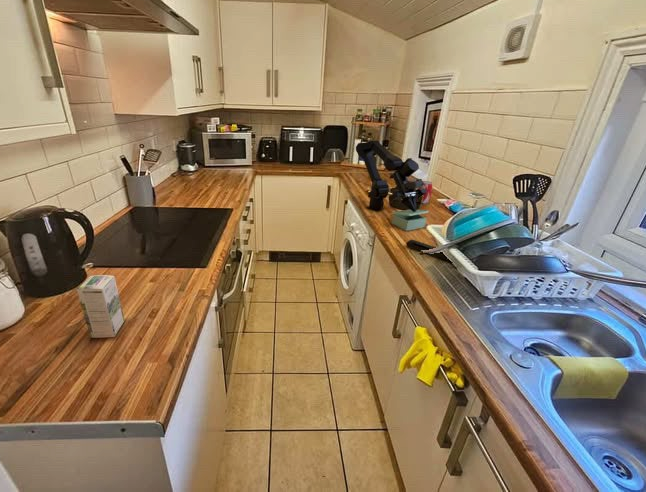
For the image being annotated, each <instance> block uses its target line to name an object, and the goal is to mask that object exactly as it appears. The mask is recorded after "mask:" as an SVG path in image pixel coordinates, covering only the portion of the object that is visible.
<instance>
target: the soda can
mask: <svg viewBox="0 0 646 492" xmlns="http://www.w3.org/2000/svg"><path fill="white" fill-rule="evenodd" d="M422 181H423V186H422V188H424V189H426V191H427V193H426V194H425V195H423V199H422V202H421V203H420V204H424V205H425V204H429V203H430V200H431V197H432V192H433V187H434V186H433V181H429V180H422ZM418 189H421V188H418Z"/></svg>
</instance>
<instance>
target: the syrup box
mask: <svg viewBox="0 0 646 492" xmlns="http://www.w3.org/2000/svg"><path fill="white" fill-rule="evenodd" d="M115 276H116V275H110V274H109V275H108V274H97V275H90V276H89V277H88V278H86V280H84V282H83V283H82V284H81V285H80V286H79V287H78V288H77V289H76V292H77V297H78V299H79V302H80V307H81V309H82V313H83V315H84V316H83V317H84V320H85V323H86V327H87V330H88V333H89V337H90V338H91V339H99V338H101V339H103V338H115V337H116V335H117V334H118V332H119V331H120V329H121V327H122V326H123V324H124V323H125V317H124V312H123V308H122V307H123V306H122V302H121V299H120V298H121V297H120V295H119V290H118V286H117V281H116V277H115Z"/></svg>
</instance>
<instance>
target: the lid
mask: <svg viewBox="0 0 646 492" xmlns="http://www.w3.org/2000/svg"><path fill="white" fill-rule="evenodd" d="M428 213H429V210H424V209H416V212H413V211H412V210H411V209H405V210H397V211H393V212H392V215H393V214H398V215H406V216H412V215H418V214H419V215H422V214H428Z"/></svg>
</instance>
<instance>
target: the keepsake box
mask: <svg viewBox="0 0 646 492" xmlns="http://www.w3.org/2000/svg"><path fill="white" fill-rule="evenodd" d="M426 222H427V217H426V216H423V215H422V214H418V215H412V216H406V215H398V214H393V213H392V218H391V224H392V225H394V226H396V227H398V228H399V229H402V230H403V231H405V232H408V231H413V230H418V229H422V228H425V227H426Z"/></svg>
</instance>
